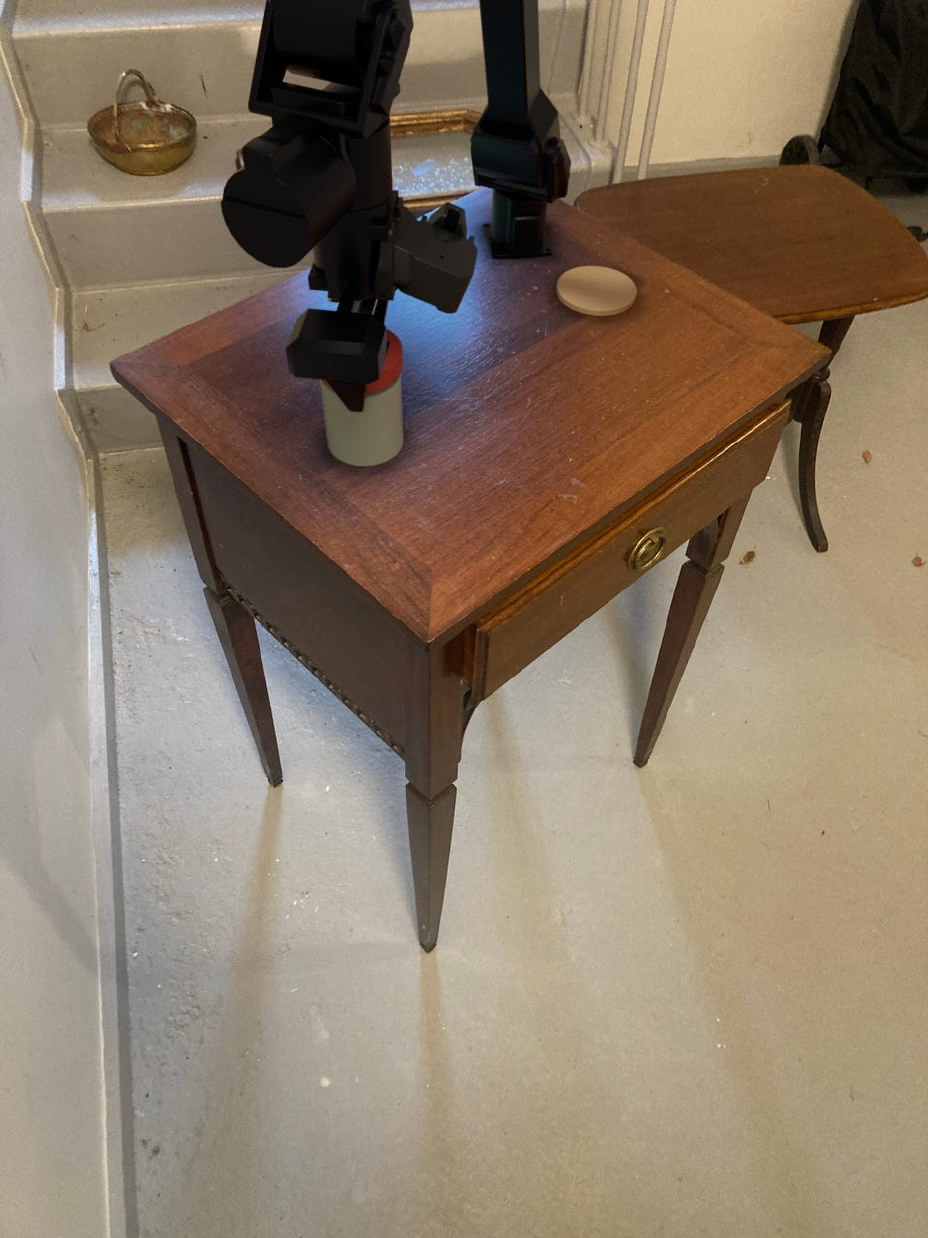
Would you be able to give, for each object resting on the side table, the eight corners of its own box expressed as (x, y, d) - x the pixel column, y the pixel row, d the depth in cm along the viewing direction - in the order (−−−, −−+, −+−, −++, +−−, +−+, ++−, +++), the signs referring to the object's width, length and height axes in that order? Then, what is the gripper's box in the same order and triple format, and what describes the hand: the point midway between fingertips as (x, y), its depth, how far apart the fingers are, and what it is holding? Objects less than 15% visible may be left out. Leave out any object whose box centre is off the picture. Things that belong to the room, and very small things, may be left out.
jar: (324, 419, 80) (314, 335, 73) (398, 412, 81) (395, 329, 74) (330, 470, 76) (320, 386, 70) (407, 462, 77) (405, 379, 70)
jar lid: (421, 361, 73) (420, 343, 72) (367, 406, 70) (365, 388, 68) (353, 330, 75) (351, 312, 74) (298, 372, 72) (295, 354, 71)
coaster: (548, 273, 95) (549, 267, 95) (623, 268, 96) (624, 263, 96) (566, 318, 90) (566, 313, 90) (645, 313, 91) (646, 307, 91)
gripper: (453, 278, 55) (450, 473, 68) (485, 134, 67) (477, 322, 79) (269, 263, 56) (299, 458, 68) (332, 122, 67) (348, 311, 80)
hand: (364, 382), depth 74 cm, fingers closed on jar lid, 6 cm apart
